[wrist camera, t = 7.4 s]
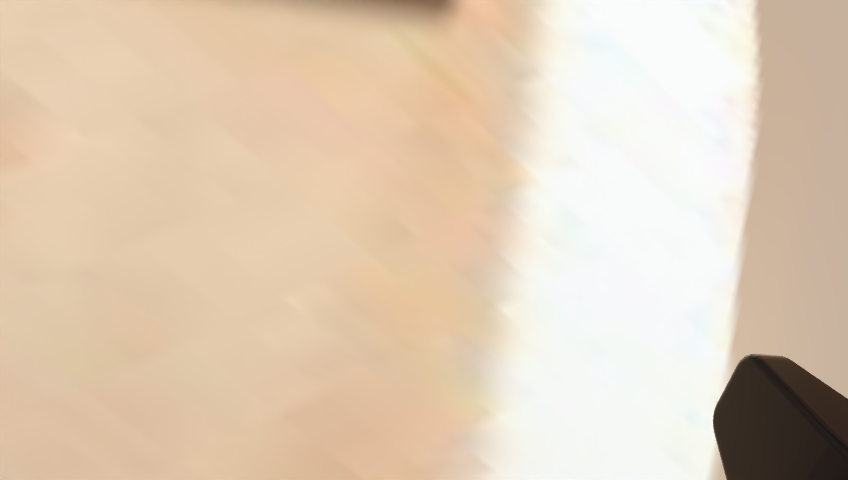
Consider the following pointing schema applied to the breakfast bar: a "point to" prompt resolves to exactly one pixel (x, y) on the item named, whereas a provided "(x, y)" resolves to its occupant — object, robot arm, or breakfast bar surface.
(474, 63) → the breakfast bar surface
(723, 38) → the breakfast bar surface
